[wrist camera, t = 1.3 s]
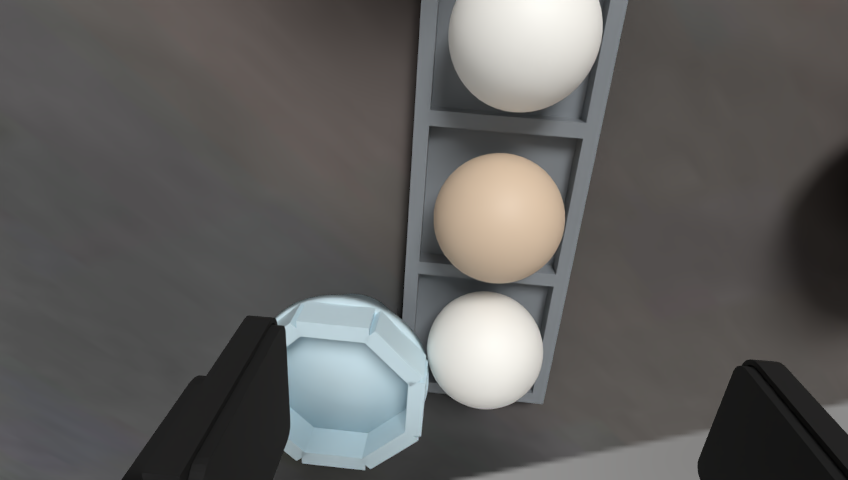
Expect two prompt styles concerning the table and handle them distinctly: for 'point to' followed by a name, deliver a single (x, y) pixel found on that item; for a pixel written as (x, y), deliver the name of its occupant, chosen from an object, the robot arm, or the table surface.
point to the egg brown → (499, 218)
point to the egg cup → (352, 381)
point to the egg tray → (497, 133)
